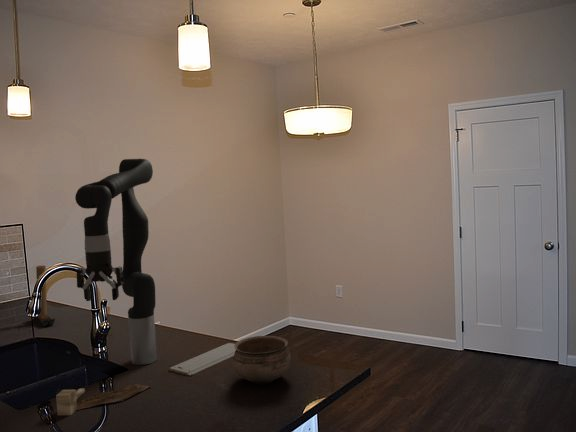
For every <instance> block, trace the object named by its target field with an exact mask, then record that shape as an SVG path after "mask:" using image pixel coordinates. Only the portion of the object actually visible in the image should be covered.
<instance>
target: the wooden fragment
mask: <svg viewBox="0 0 576 432" xmlns="http://www.w3.org/2000/svg"><path fill="white" fill-rule="evenodd" d="M148 388H150V389H151V386H148V385H143V384H139V383H136V384H130V385H128V386H127V385H126V386H125V387H122V388H119V389H116V390H112V391H111V390H110V391H103V392H99V393H96V394H93V395H92V396H89V397H85V398H84V399H82V400H80V401H79V402H77V409H76V411H77V410H82V409H88V408H92V407H96V406H99V405H104V404H111V403H116V402H124V401H126V400H127V399H129V398H130V397H133V396H135V395H137V394H139V393H141V392H143V391H145V390H147V389H148Z"/></svg>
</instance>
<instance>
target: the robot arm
mask: <svg viewBox="0 0 576 432" xmlns="http://www.w3.org/2000/svg"><path fill="white" fill-rule="evenodd" d="M153 171H154V170H153V165H152V163H151V162H150V160H148V159H147V158H125V159H122V160H121V161H120V163H119V167H118V172H116V173H113V174H110V175H107V176H105V177H104V178H102V179H100V180H99V181H95V182H91V183H88V184H84V185H83V186H80V187H79V188H78V189H77V191H76V193H75V202H76V204H77V205H78V206H79V207H80V208H82V209H85V210H86V209H88V210H89V209H96V211H95V213H94V215H91V216H90V215H89V216H86V217H85V218H84V220H83V229H84V252H85V254H84V255H85V264H86V268H84V267H80V268H78V269H76V287H77V288H78V289H82V290H83V295H84V297H83V298H84V300H85V301H86V302H89V301H91V300H92V291H91V288H90V287H91V285H92V284H93V283H97V282H101V283H104V282H106V283H107V284H108V285H110V287H111V296H112V301H116V300H117V299H118V298H119V296H120V293H119V287H122V291H123V293H124V294H125V295H126V296H127V297H131V298H133V300H132V301H133V305H132V307H129V309H128V310H127V316H128V317H127V318H128V329H129V344H130V358H131V364H133V365H137V366H145V365H149V364H152V363H155V362H156V361H157V360H158V354H157V353H158V351H157V338H156V323H155V308H156V284H155V280H154V279H153V276H151V275H150V274H148V273H143V272H142V259H143V258H142V256H143V254H144V251H145V249H146V246H147V243H148V240H149V234H150V232H149V218H148V216H147V214H146V212H145V211H144V209H143V208H142V206H141V205H140V203H139V202H138V200H137V198H136V195H135V190H134V188H135V187H137V186H139V185H140V186H141V185H143V184H147V183H149V182H150V181H151V180H152V177H153V173H154V172H153ZM120 194H121V207H122V209H121V210H122V211H121V212H122V213H121V215H122V223H121V225H122V249H123V251H122V253H123V254H122V255H123V256H122V258H123V260H122V261H123V264H122V266H121V265H120V266H115V267H113V265H112V250H111V239H110V235H109V223H108V222H109V221H108V220H109V216H110V210H111V209H110V208H111V206H112V199H114V198H116V197H118V196H119V195H120ZM113 273H114V275H116V276H115V277H114V275H112V274H113ZM85 275H87V276H88V277H87V278H86V280H85ZM115 278H116V279H115Z"/></svg>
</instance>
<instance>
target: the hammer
mask: <svg viewBox="0 0 576 432" xmlns="http://www.w3.org/2000/svg"><path fill="white" fill-rule="evenodd" d="M35 270H36V271H35V272H36V280H37V279H38V278H39V276H40V275H41V274H42V273H43V272H44V271H45V270H46V271H47V267H46V265H37V266H36V268H35ZM47 301H48V300H47V281H46V282H45V284H44V286H43V288H42V311H41V315H39V316H37V317H33V316H32V318H33V319H32V320H33V322H34V323H35V324H36V325H37V326H39V327H42V328H44V327H48V326H49V327H50V326H53V325H54V323H55V321H56V319H55V318H51V317H50V316H49V315H48V309H47V306H48V305H47Z"/></svg>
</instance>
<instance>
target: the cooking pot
mask: <svg viewBox="0 0 576 432" xmlns="http://www.w3.org/2000/svg"><path fill="white" fill-rule="evenodd" d="M234 344H235V345H234V347H235V349H236V351H235V354H234V356H233V357H232V358H233V359H232V365H233V369H234V370H235V372H236V374H237V375H238V376H239V377H241V378H242V379H244V380H245V381H249V382H252V383H253V384H256V385H267V384H271V383H273V381H276V380H277V379H279V378H281V377H282V376H284V375H285V374H286V373H287V371H288V370H289V368H290V366H291V361H292V357H291V354H290V350H289V348H288V344H289V341H288V339H285V338H284V337H280V336H276V335H256V336H250V337H246V338H243V339H239V341H237V342H235V343H234Z"/></svg>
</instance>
